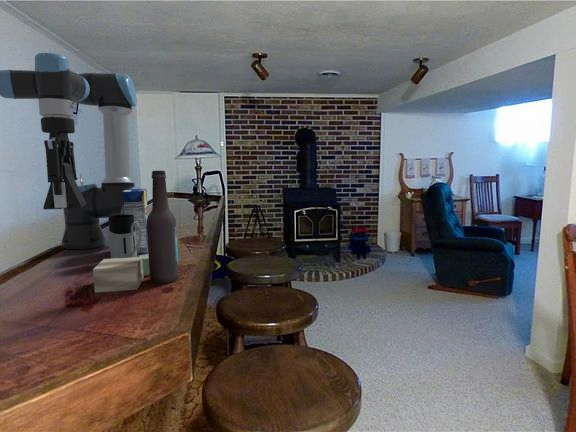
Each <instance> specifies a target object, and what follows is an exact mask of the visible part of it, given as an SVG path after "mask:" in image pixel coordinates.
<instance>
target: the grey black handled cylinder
mask: <svg viewBox="0 0 576 432" xmlns="http://www.w3.org/2000/svg"><path fill="white" fill-rule="evenodd" d="M107 219H108V237H109V239H108V241H109V249H110V251H109V252H110V259H113V258H132V257H138V254H137V248H138V247H139V245H140V242H141V227H140V225H139V223H137V222H134V215H129V214H124V215H113V216H109V217H108V218H107ZM134 224H137V226H138V228H139V240H138V244H137V246H136V231H135V225H134Z"/></svg>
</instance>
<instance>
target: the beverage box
mask: <svg viewBox="0 0 576 432" xmlns="http://www.w3.org/2000/svg"><path fill="white" fill-rule="evenodd" d="M122 193H123V207H124V214H129V215H134V222H137V223H139V225H140V227H141V242H140V245H139V247H138V248H137V255H146V253H147V254H148V239H147V218H148V216H149V211H148V210H149V209H148V193H147V188H139V189H126V190H124V191H123V192H122ZM134 225H135V231H136V246H137V244H138V240H139V228H138V226H137V224H134Z"/></svg>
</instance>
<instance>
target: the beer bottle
mask: <svg viewBox="0 0 576 432" xmlns="http://www.w3.org/2000/svg"><path fill="white" fill-rule="evenodd" d="M151 179H152V189H151V190H152V191H151V193H152V197H151V198H152V199H151V201H152V207H151V211H150V213H148V218H147V239H148V253H147V254H148V256H149V273H150V275H149V279H150V282H152V283H153V284H169V283H172V282H175V281H177V280H178V279H179V257H178V256H179V255H178V254H179V253H178V235H177V233H178V232H177V231H178V230H177V222H176V217H175V214H174V213H173V212H172V211H171V210H170V207H169V200H168V190H167V182H166V179H167V176H166V171H165V170H152V171H151Z"/></svg>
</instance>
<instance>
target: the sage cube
mask: <svg viewBox="0 0 576 432" xmlns="http://www.w3.org/2000/svg"><path fill="white" fill-rule="evenodd" d="M138 257H142V261H143V277H144V276H150V273H149V256H148V253H147V254H138Z"/></svg>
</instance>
